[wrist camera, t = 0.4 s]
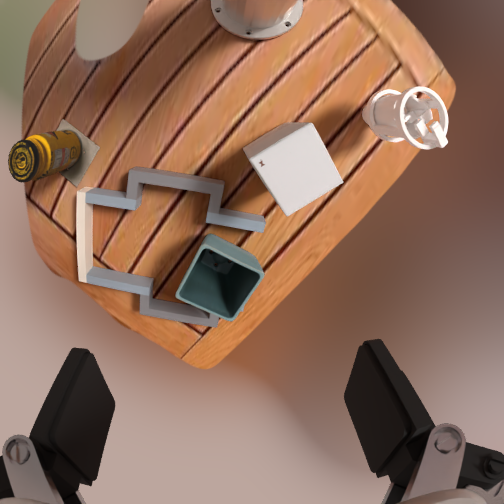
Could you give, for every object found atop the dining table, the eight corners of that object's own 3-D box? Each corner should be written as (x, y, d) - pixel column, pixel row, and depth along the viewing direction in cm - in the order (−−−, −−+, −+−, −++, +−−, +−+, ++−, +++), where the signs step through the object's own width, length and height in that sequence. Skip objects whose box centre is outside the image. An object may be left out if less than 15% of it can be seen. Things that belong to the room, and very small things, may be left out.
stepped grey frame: (87, 160, 37) (78, 164, 34) (269, 189, 41) (272, 194, 39) (87, 291, 46) (80, 300, 43) (237, 319, 50) (237, 330, 48)
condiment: (63, 118, 34) (16, 123, 23) (100, 147, 36) (58, 159, 26) (43, 158, 36) (-4, 174, 25) (78, 186, 38) (35, 210, 28)
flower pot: (182, 266, 45) (173, 297, 37) (207, 218, 42) (202, 242, 34) (231, 288, 48) (232, 323, 40) (259, 244, 45) (266, 273, 37)
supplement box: (269, 191, 41) (284, 219, 30) (241, 147, 38) (246, 158, 27) (313, 165, 40) (345, 183, 29) (287, 120, 37) (311, 120, 26)
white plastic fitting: (368, 146, 39) (426, 163, 26) (340, 109, 37) (394, 107, 23) (398, 121, 38) (462, 129, 24) (373, 83, 35) (434, 75, 22)
